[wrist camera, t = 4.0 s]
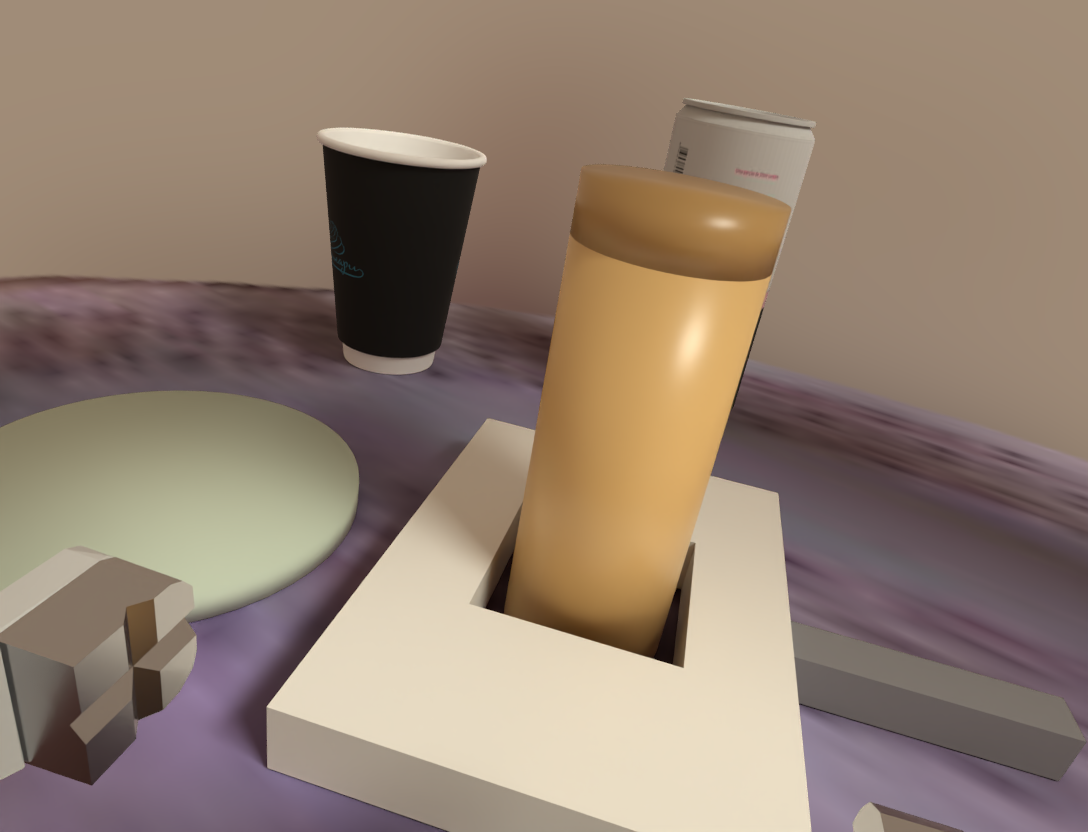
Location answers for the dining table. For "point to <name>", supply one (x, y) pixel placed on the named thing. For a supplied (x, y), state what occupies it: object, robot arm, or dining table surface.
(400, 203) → the dixie cup
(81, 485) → the mat
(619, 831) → the socket block
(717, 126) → the beverage can
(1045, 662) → the dining table surface
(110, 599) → the robot arm
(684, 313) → the plug
